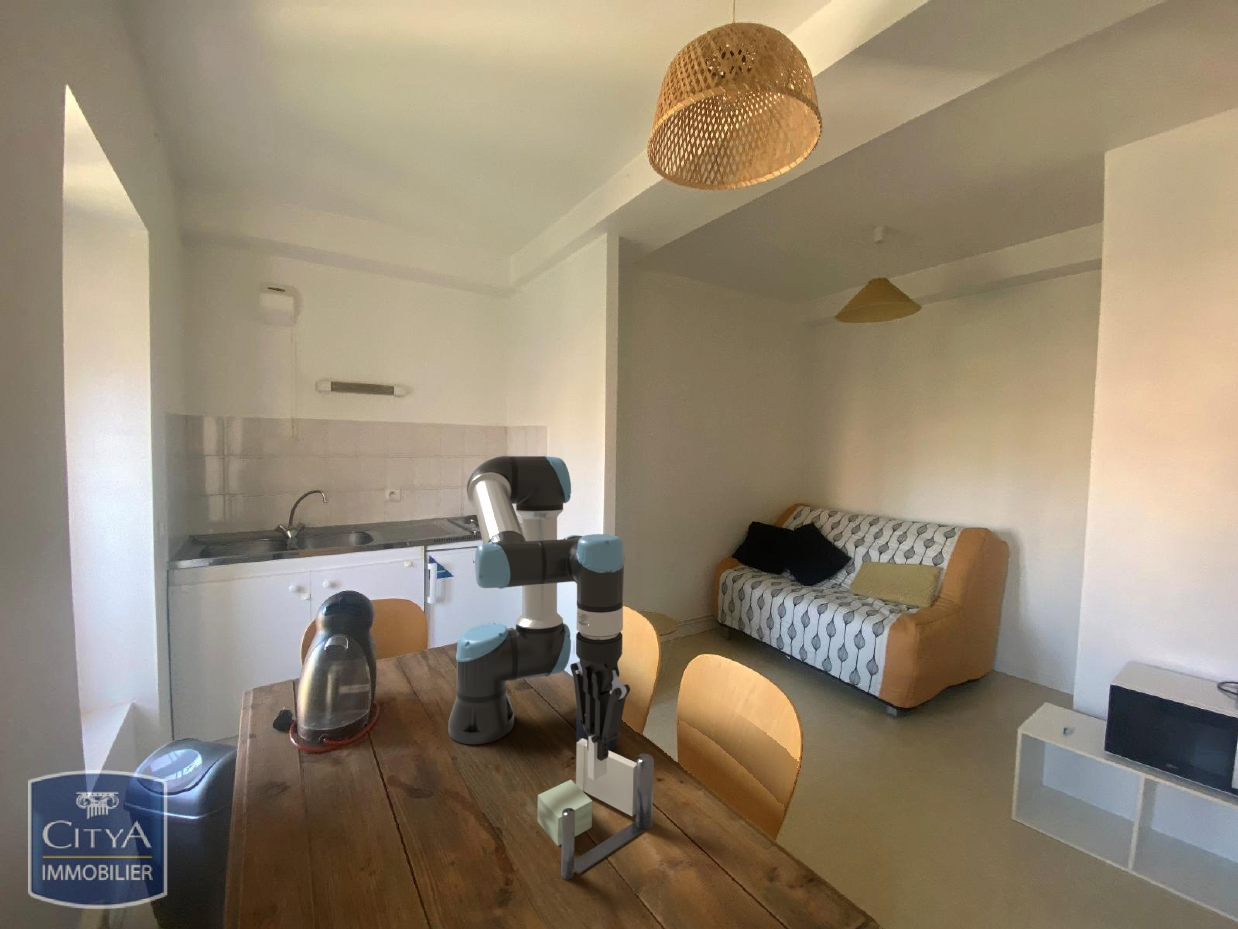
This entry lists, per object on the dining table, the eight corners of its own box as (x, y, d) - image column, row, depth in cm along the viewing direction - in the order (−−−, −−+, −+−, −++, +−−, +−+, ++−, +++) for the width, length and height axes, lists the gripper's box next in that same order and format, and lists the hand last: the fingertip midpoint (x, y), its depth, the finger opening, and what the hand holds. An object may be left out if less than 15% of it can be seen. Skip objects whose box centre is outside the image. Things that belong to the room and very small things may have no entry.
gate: (637, 811, 91) (638, 763, 91) (631, 817, 90) (632, 768, 89) (581, 782, 99) (582, 738, 98) (575, 787, 97) (576, 742, 97)
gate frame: (556, 871, 79) (558, 797, 79) (644, 815, 92) (645, 751, 91) (567, 884, 77) (569, 808, 76) (655, 825, 89) (657, 759, 89)
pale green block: (537, 822, 90) (537, 795, 90) (570, 805, 94) (570, 779, 94) (557, 847, 84) (558, 818, 84) (591, 828, 89) (592, 800, 88)
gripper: (557, 625, 83) (555, 764, 84) (606, 649, 73) (604, 807, 74) (593, 616, 88) (591, 747, 89) (643, 638, 78) (641, 786, 79)
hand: (597, 774), depth 81 cm, fingers closed
